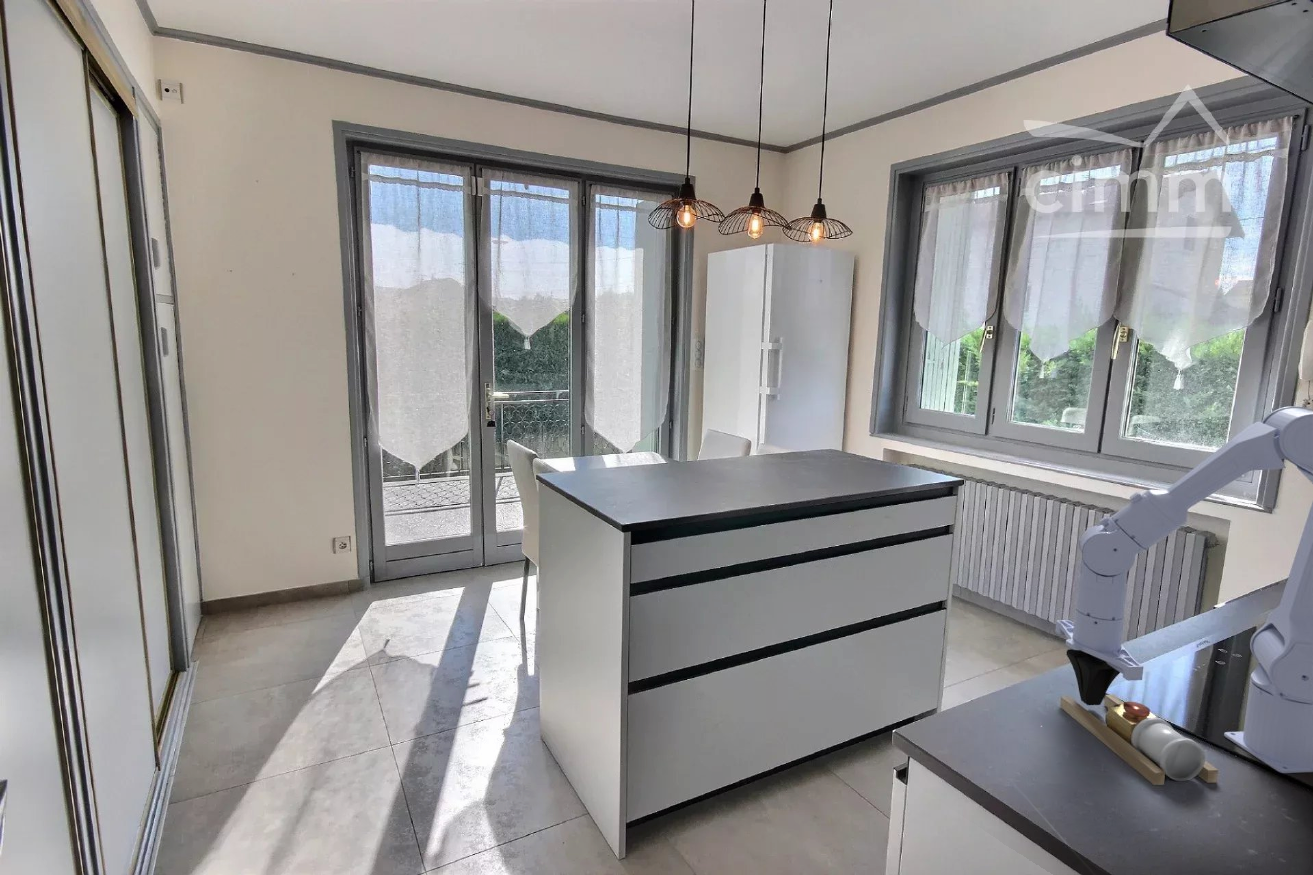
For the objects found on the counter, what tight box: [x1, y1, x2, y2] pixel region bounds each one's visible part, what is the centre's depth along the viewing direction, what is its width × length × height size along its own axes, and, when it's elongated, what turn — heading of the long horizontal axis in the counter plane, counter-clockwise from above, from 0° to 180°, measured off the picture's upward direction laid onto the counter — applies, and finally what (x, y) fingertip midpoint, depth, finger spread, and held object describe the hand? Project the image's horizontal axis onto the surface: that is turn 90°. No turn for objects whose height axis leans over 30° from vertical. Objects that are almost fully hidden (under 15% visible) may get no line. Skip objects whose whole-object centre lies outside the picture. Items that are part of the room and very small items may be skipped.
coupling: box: [1131, 716, 1206, 782], centre depth 81 cm, size 5×5×5 cm
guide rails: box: [1059, 694, 1219, 786], centre depth 87 cm, size 8×17×2 cm, turn 3°
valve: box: [1104, 701, 1157, 747], centre depth 87 cm, size 5×4×5 cm
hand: (1090, 702), depth 95 cm, fingers closed
